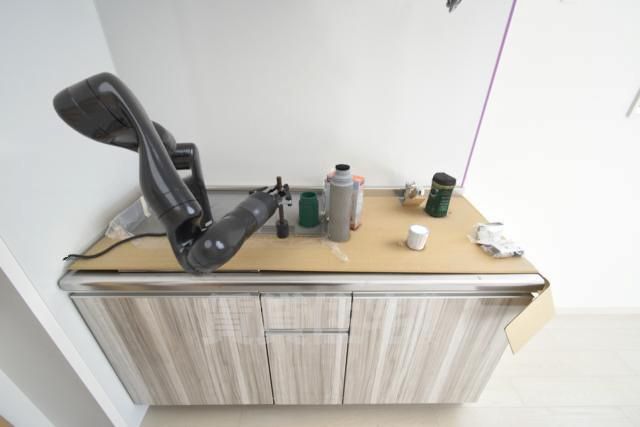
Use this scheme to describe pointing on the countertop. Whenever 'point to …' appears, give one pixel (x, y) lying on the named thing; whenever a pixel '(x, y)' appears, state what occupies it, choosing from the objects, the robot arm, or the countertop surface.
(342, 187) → the thermos bottle
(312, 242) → the countertop surface
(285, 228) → the bottle brush
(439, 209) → the coffee jar
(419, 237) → the white ribbed cup
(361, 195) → the cracker box
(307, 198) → the green bottle
